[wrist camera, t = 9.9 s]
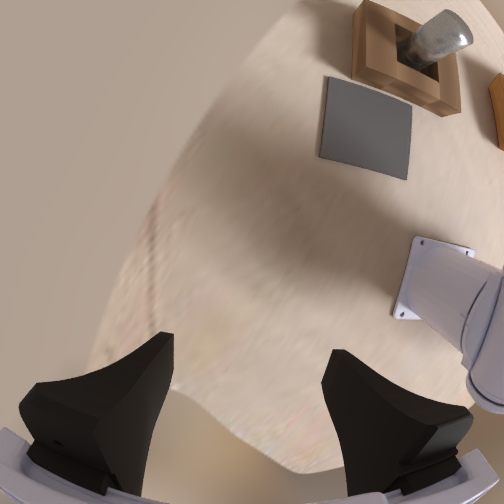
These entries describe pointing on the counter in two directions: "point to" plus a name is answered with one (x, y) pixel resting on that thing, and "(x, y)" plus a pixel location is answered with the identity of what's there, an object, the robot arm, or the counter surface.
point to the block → (394, 73)
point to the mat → (366, 129)
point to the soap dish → (498, 106)
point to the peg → (434, 41)
